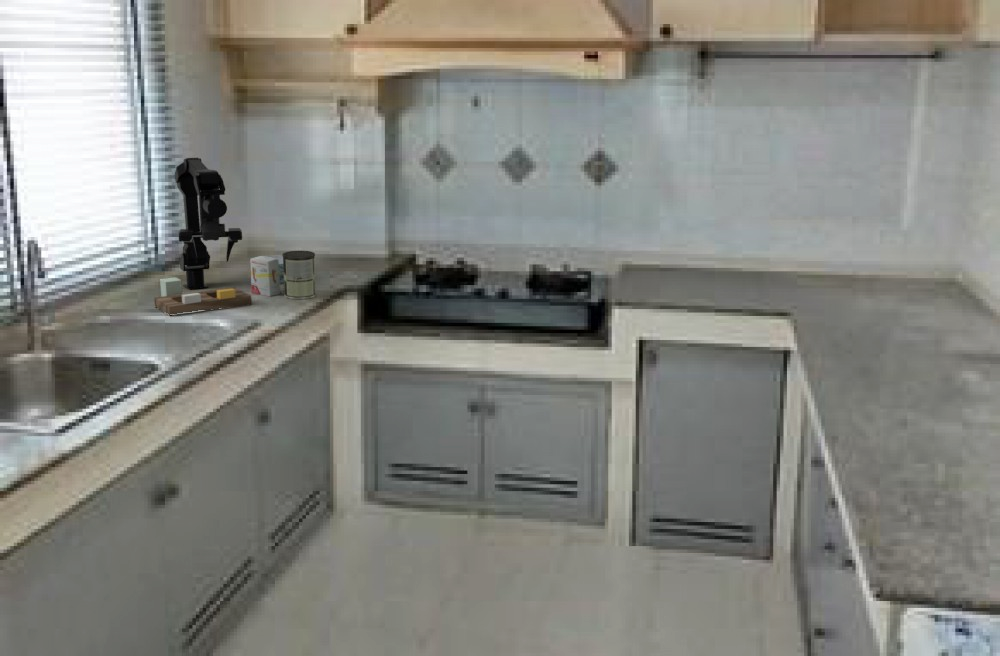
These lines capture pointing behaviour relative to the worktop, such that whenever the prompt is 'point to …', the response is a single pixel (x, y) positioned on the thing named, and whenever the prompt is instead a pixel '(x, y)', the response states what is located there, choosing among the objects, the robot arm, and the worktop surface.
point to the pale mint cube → (170, 286)
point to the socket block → (203, 300)
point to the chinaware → (281, 271)
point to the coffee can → (299, 274)
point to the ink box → (265, 275)
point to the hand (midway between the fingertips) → (212, 261)
